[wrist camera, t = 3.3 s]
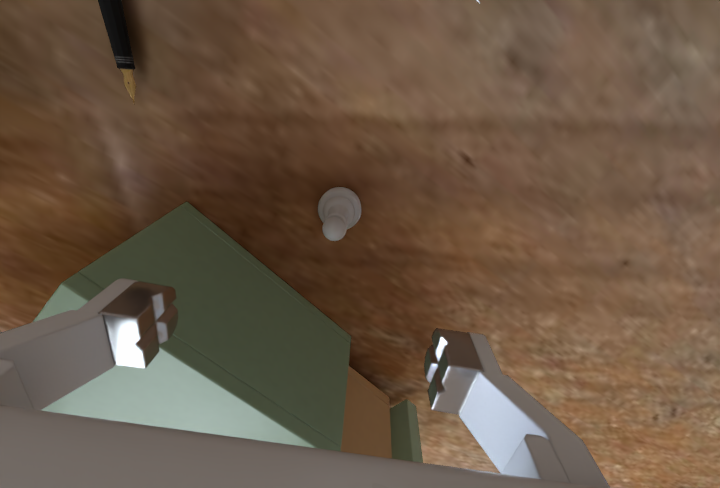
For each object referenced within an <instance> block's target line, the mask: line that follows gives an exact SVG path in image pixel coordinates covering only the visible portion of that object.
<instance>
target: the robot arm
mask: <svg viewBox="0 0 720 488" xmlns="http://www.w3.org/2000/svg"><path fill="white" fill-rule="evenodd" d="M175 299H176V291H175V289H174V288H173V287H171V286H165V285H160V284H154V283H149V282H143V281H136V280H130V279H124V278H122V279H117V280H116V281H115V282H113V283H112V284H111V285H109V286H108V287H107V288H105V289H104V290H103V291H102V292H100V293H99V294H98V295H96V296H95V297H94V298H93V299H91V300H90V301H89V302H87V303H86V304H85V305H83V306H82V307H81V308H80V309H78V310H77V311H76V310H69V311H66V312H63V313H60V314H57V315H54V316H51V317H48V318H45V319H42V320H38V321H35V322H32V323H29V324H26V325H23V326H20V327H17V328H14V329H11V330H8V331H5V332H2V333H0V488H610V487H609V485H608V483H607V481H606V480H605V478H604V476H603V475H602V473H601V471H600V469H599V468H598V466H597V464H596V463H595V461H594V459H593V457H592V456H591V454H590V452H589V450H588V449H587V447H586V445H585V444H584V442H583V440H581V439H580V438H579V437H578V436H577V435H576V434H574V433H573V432H572V431H571V430H570V429H569V428H568V427H566V426H565V425H564V424H563V423H562V422H561V421H559V420H558V419H557V418H556V417H555V416H554V415H553V414H551V413H550V412H549V411H548V410H547V409H546V408H544V407H543V406H542V405H541V404H540V403H539V402H538V401H536V400H535V399H534V398H533V397H532V396H531V395H530V394H528V393H527V392H526V391H525V390H524V389H523V388H521V387H520V386H519V385H518V384H517V383H516V382H515V381H513V380H512V379H511V378H510V377H509V376H507V375H503V374H502V372H501V370H500V367H499V365H498V363H497V361H496V358H495V356H494V354H493V352H492V350H491V347H490V345H489V343H488V341H487V339H486V337H485V336H484V335H483V334H477V333H470V332H467V333H466V332H460V331H453V330H447V329H440V328H436V329H435V330H434V332H433V335H432V342H433V345H431V346H430V347H429V348H428V349H427V352H426V356H425V363H424V371H425V377H426V379H427V380H428V382H429V383H430V386H429V389H428V394H429V400H430V405H431V410H434V411H440V412H446V413H452V414H458V415H459V417H460V418H461V420H462V421H463V422H464V424H465V425H466V426H467V428H468V429H469V430H470V432H471V433H472V435H473V436H474V437H475V439H476V440H477V441H478V443H479V444H480V445H481V447H482V448H483V449H484V451H485V452H486V454H487V455H488V456H489V458H490V459H491V460H492V462H493V463H494V464H495V466H496V467H497V469H498V470H499V471H500V473H493V472H486V471H479V470H472V469H464V468H457V467H450V466H443V465H435V464H428V463H421V462H413V461H406V460H399V459H392V458H384V457H377V456H370V455H362V454H355V453H348V452H340V451H333V450H326V449H318V448H311V447H304V446H296V445H289V444H282V443H275V442H267V441H260V440H253V439H245V438H238V437H231V436H224V435H216V434H209V433H202V432H195V431H187V430H180V429H173V428H165V427H158V426H151V425H143V424H136V423H129V422H122V421H114V420H107V419H100V418H92V417H85V416H78V415H70V414H63V413H56V412H49V411H41V410H42V409H44V408H45V407H47V406H49V405H50V404H52V403H54V402H55V401H57V400H59V399H61V398H62V397H64V396H66V395H67V394H69V393H71V392H72V391H74V390H76V389H77V388H79V387H81V386H83V385H84V384H86V383H88V382H89V381H91V380H93V379H94V378H96V377H98V376H100V375H101V374H103V373H105V372H106V371H108V370H110V369H111V368H113V367H114V365H118V366H127V367H135V368H144V369H146V368H147V366H148V365H149V364H150V363H151V361H152V360H153V359H154V358H155V356H156V355H157V354H158V353H159V344H161V343H163V342H165V341H167V340H169V338H170V337H171V336H172V334H173V333H174V331H175V328H176V326H177V323H178V309H177V308H176V307H175V306H174V305H173V304H172V303H173V302H174V300H175Z"/></svg>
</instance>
